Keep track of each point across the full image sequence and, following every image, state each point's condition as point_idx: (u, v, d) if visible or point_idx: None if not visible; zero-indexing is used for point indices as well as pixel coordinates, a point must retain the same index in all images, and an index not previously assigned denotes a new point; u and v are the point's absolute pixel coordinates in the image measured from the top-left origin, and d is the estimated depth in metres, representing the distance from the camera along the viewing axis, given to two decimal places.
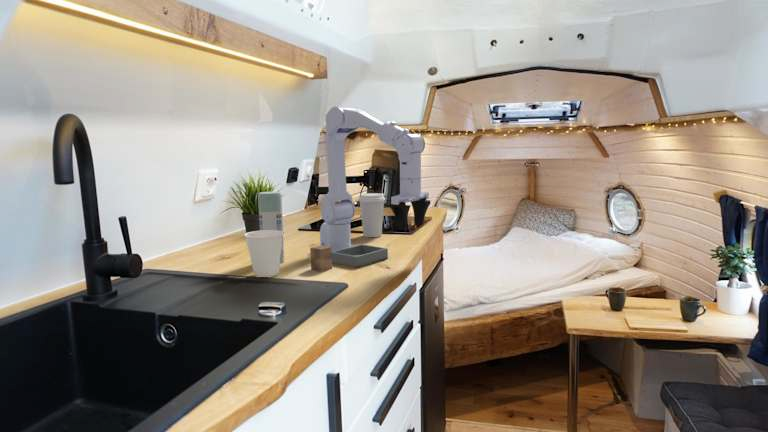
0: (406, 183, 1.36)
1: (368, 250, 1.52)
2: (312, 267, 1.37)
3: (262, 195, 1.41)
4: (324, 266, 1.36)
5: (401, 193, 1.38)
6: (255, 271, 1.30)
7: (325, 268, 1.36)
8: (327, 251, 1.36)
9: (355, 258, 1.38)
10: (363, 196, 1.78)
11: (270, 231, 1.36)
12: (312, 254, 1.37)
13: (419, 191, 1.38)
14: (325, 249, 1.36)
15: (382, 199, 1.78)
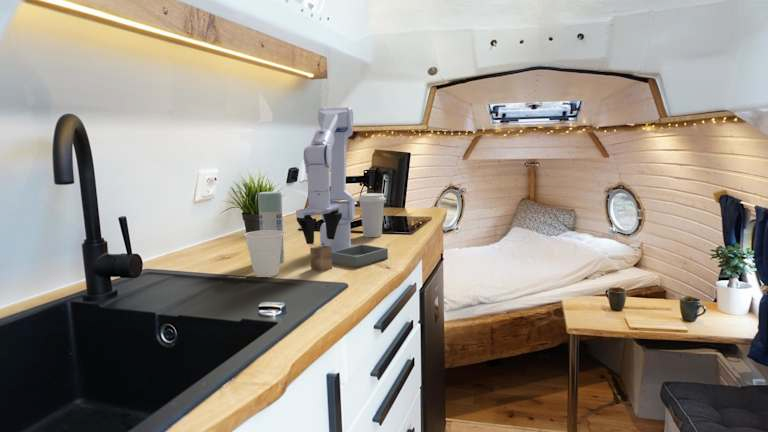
0: (313, 196, 1.32)
1: (368, 250, 1.52)
2: (312, 267, 1.37)
3: (262, 195, 1.41)
4: (324, 266, 1.36)
5: (309, 206, 1.34)
6: (255, 271, 1.30)
7: (325, 268, 1.36)
8: (327, 251, 1.36)
9: (355, 258, 1.38)
10: (363, 196, 1.78)
11: (270, 231, 1.36)
12: (312, 254, 1.37)
13: (327, 204, 1.34)
14: (325, 249, 1.36)
15: (382, 199, 1.78)
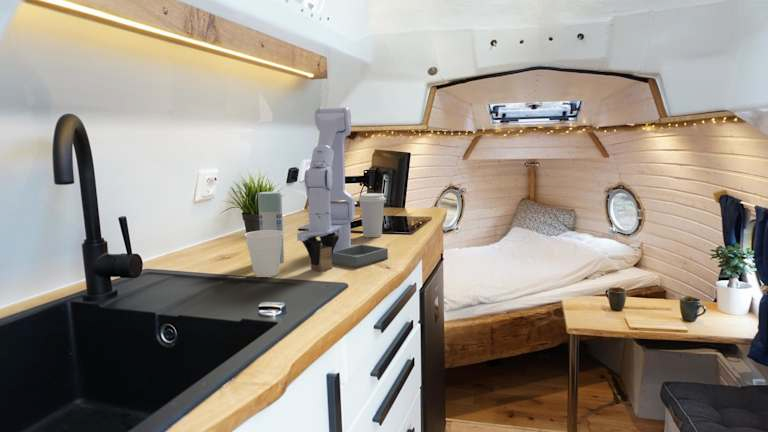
0: (314, 218, 1.33)
1: (368, 250, 1.52)
2: (312, 267, 1.37)
3: (262, 195, 1.41)
4: (324, 266, 1.36)
5: (310, 228, 1.35)
6: (255, 271, 1.30)
7: (325, 268, 1.36)
8: (327, 251, 1.36)
9: (355, 258, 1.38)
10: (363, 196, 1.78)
11: (270, 231, 1.36)
12: None
13: (328, 226, 1.35)
14: (325, 249, 1.36)
15: (382, 199, 1.78)
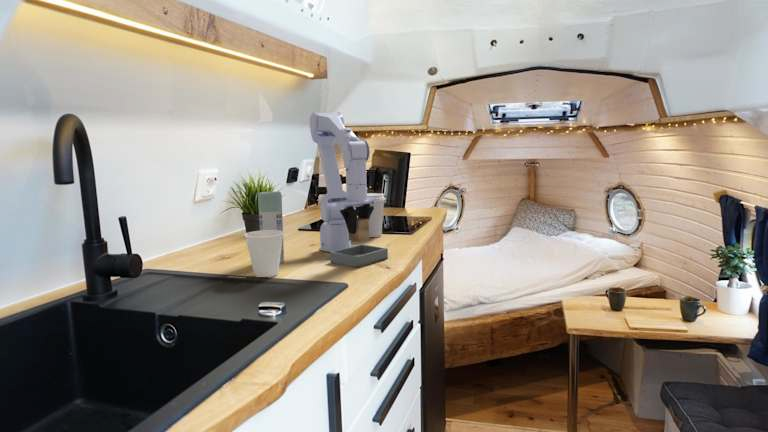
0: (351, 189, 1.41)
1: (368, 250, 1.52)
2: (350, 238, 1.44)
3: (262, 195, 1.41)
4: (362, 237, 1.43)
5: (347, 198, 1.42)
6: (255, 271, 1.30)
7: (363, 239, 1.43)
8: (365, 222, 1.43)
9: (355, 258, 1.38)
10: None
11: (270, 231, 1.36)
12: None
13: (364, 196, 1.42)
14: (363, 220, 1.43)
15: (382, 199, 1.78)
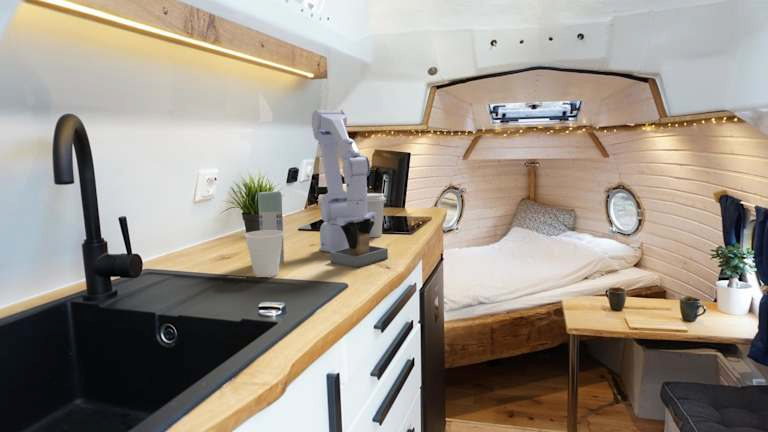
0: (352, 204, 1.41)
1: None
2: (351, 253, 1.45)
3: (262, 195, 1.41)
4: (362, 252, 1.44)
5: (348, 214, 1.43)
6: (255, 271, 1.30)
7: None
8: (365, 238, 1.44)
9: (355, 258, 1.38)
10: None
11: (270, 231, 1.36)
12: None
13: (365, 212, 1.43)
14: (363, 236, 1.43)
15: (382, 199, 1.78)
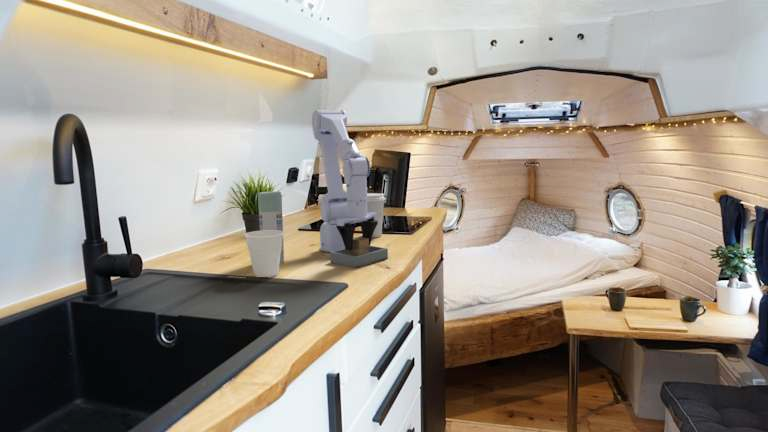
0: (352, 205, 1.41)
1: None
2: None
3: (262, 195, 1.41)
4: None
5: (348, 214, 1.43)
6: (255, 271, 1.30)
7: None
8: (365, 242, 1.44)
9: (355, 258, 1.38)
10: None
11: (270, 231, 1.36)
12: None
13: (365, 212, 1.43)
14: (363, 240, 1.44)
15: (382, 199, 1.78)
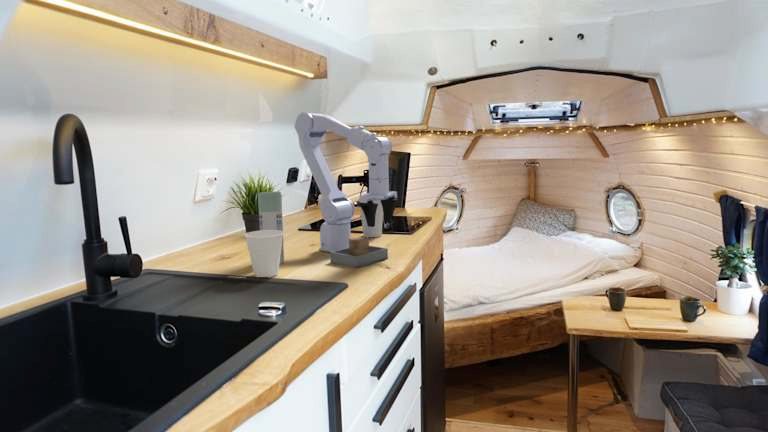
0: (374, 183, 1.46)
1: None
2: None
3: (262, 195, 1.41)
4: None
5: (370, 192, 1.48)
6: (255, 271, 1.30)
7: None
8: (365, 242, 1.44)
9: (355, 258, 1.38)
10: None
11: (270, 231, 1.36)
12: (350, 245, 1.45)
13: (387, 190, 1.48)
14: (363, 240, 1.44)
15: None
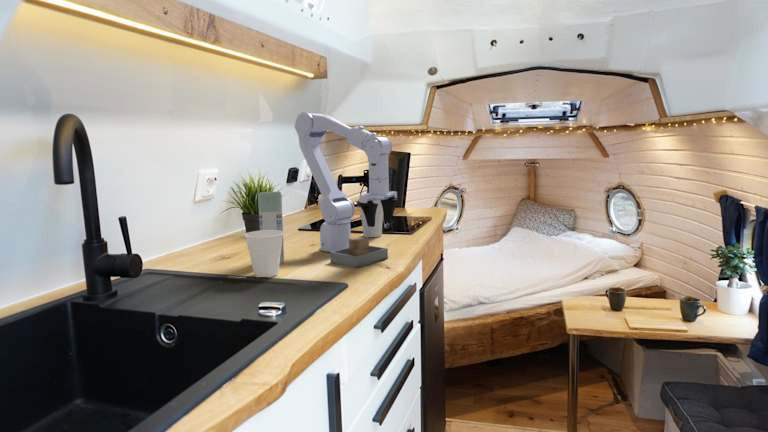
0: (374, 183, 1.46)
1: None
2: None
3: (262, 195, 1.41)
4: None
5: (370, 192, 1.48)
6: (255, 271, 1.30)
7: None
8: (365, 242, 1.44)
9: (355, 258, 1.38)
10: None
11: (270, 231, 1.36)
12: (350, 245, 1.45)
13: (387, 190, 1.48)
14: (363, 240, 1.44)
15: None
